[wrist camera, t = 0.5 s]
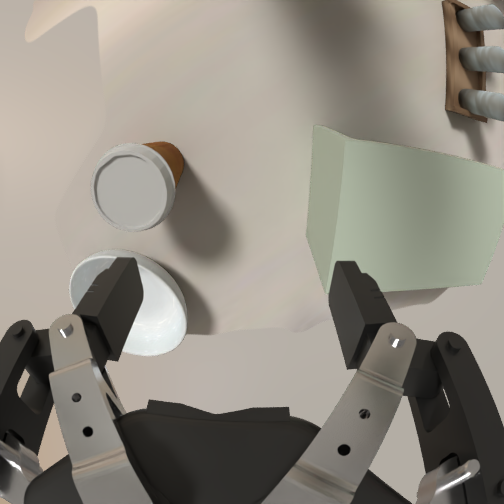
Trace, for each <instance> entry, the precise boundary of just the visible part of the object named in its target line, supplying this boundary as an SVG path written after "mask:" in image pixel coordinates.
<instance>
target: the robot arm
mask: <svg viewBox="0 0 504 504" xmlns="http://www.w3.org/2000/svg"><path fill="white" fill-rule="evenodd" d="M143 297H144V290H143V285H142V281H141V277H140V273H139V269H138V264H137V261H136V259H135V258H134V257H117V258H116V259H115V260H114V262H113V263H112V265H111V266H110V268H109V269H105V270H104V271H102V272H101V273H100V274H99V275H97V277H96V278H95V280H94V281H93V283H92V285H90V287H89V288H88V290H87V292H86V293H85V294H84V296H83V298H82V299H81V301H80V302H79V304H78V305H77V307H76V308H75V310H74V312H73V313H72V314H67V315H64V316H61V317H59V318H58V319H56V320H55V321H54V322H53V323H52V325H51V326H50V329H43V330H35V329H34V327H33V325H32V324H31V322H30V321H28V320H21V321H18V322H16V323H14V324H13V325H12V326H11V327H10V328H9V329H8V330H7V332H6V334H5V335H4V337H3V339H2V340H1V342H0V497H1V498H3V499H5V500H6V501H8V502H10V503H11V504H412V503H411V502H410V501H408V500H407V499H405V498H404V497H403V496H401V495H400V494H399V493H397V492H396V491H395V490H394V489H392V488H391V487H390V486H389V485H387V484H386V483H385V482H384V481H382V480H381V479H380V478H379V477H377V476H376V475H375V474H374V473H372V472H371V471H370V470H369V469H368V468H369V467H370V465H371V463H372V461H373V459H374V457H375V455H376V453H377V452H378V450H379V447H380V445H381V444H382V442H383V439H384V437H385V435H386V433H387V431H388V428H389V427H390V424H391V422H392V419H393V418H394V415H395V413H396V410H397V408H398V406H399V403H400V400H401V398H402V395H403V396H408V400H409V403H410V407H411V411H412V414H413V418H414V422H415V426H416V430H417V434H418V438H419V443H420V447H421V452H422V457H423V461H424V467H425V471H426V475H425V476H424V477H423V478H422V480H421V481H420V484H419V488H418V492H417V498H418V499H417V502H416V504H504V427H503V424H502V421H501V418H500V415H499V413H498V410H497V407H496V405H495V402H494V400H493V398H492V395H491V393H490V390H489V388H488V386H487V384H486V381H485V379H484V377H483V375H482V372H481V370H480V368H479V366H478V364H477V362H476V360H475V358H474V356H473V354H472V352H471V350H470V348H469V346H468V344H467V342H466V341H465V340H464V339H463V338H462V337H461V336H460V335H458V334H456V333H453V332H443V333H441V334H440V335H439V336H438V338H437V340H436V342H433V341H428V340H421V339H416V336H415V334H414V333H413V331H412V330H411V329H409V328H408V327H407V326H405V325H403V324H400V323H397V321H396V319H395V317H394V315H393V313H392V311H391V309H390V307H389V305H388V303H387V301H386V299H385V298H384V295H383V294H382V292H381V291H380V288H379V286H378V284H377V282H376V281H375V280H374V279H373V278H372V277H371V276H370V275H368V274H367V273H361V271H360V269H359V267H358V265H357V263H356V262H355V261H336V263H335V266H334V270H333V275H332V280H331V285H330V290H329V307H330V310H331V314H332V317H333V320H334V323H335V327H336V330H337V334H338V338H339V341H340V345H341V349H342V352H343V356H344V360H345V363H346V367H347V370H348V369H357V372H356V373H355V375H354V377H353V379H352V380H351V382H350V384H349V386H348V387H347V389H346V391H345V392H344V394H343V396H342V397H341V399H340V401H339V402H338V404H337V405H336V407H335V409H334V410H333V412H332V413H331V415H330V416H329V418H328V419H327V421H326V422H325V424H324V425H323V427H322V428H320V427H318V426H317V425H315V424H313V423H311V422H308V421H306V420H304V419H300V418H297V417H292V416H290V413H289V407H273V408H272V407H270V408H249V409H244V410H240V411H234V412H228V413H223V414H212V413H209V412H206V411H202V410H199V409H196V408H193V407H190V406H186V405H184V404H180V403H172V402H163V401H156V400H149V402H148V405H147V409H140V410H135V411H132V412H129V413H126V411H125V409H124V408H123V406H122V404H121V402H120V399H119V397H118V395H117V392H116V390H115V388H114V386H113V383H112V380H111V378H110V375H109V373H108V370H107V368H106V366H105V365H106V362H107V360H112V361H118V360H119V357H120V355H121V352H122V350H123V347H124V345H125V342H126V340H127V337H128V335H129V333H130V330H131V328H132V325H133V323H134V321H135V318H136V316H137V314H138V311H139V309H140V307H141V304H142V302H143ZM24 369H26V370H27V372H28V373H29V374H30V376H29V378H28V381H27V383H26V386H25V388H24V390H23V392H22V395H21V397H20V398H19V396H18V393H17V384H18V382H19V380H20V378H21V376H22V373H23V371H24ZM443 389H444V390H445V393H446V395H447V398H448V401H449V404H450V408H449V405H448V402H447V400H446V397H445V394H444V391H443ZM53 404H55V409H56V413H57V417H58V420H59V424H60V427H61V431H62V434H63V438H64V441H65V444H66V448H67V451H68V453H69V454H68V455H67V456H65V457H64V458H62V459H61V460H60V461H58V462H57V463H55V464H54V465H53V466H51V467H50V468H48V469H47V470H45V471H44V472H43V470H42V468H41V467H40V466H39V460H38V458H37V456H38V452H39V449H40V445H41V441H42V438H43V434H44V431H45V428H46V425H47V422H48V418H49V416H50V413H51V410H52V407H53Z"/></svg>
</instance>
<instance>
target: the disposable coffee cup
mask: <svg viewBox="0 0 504 504" xmlns="http://www.w3.org/2000/svg"><path fill="white" fill-rule="evenodd" d="M183 168H184V161H183V157H182V154H181V153H180V151H179V150H178V149H177V148H176V147H175V146H174V145H172V144H171V143H167V142H154V143H147V144H137V143H125V144H120V145H117V146H115V147H113V148H111V149H110V150H109V151H107V152H106V153H105V154H104V155H103V156H102V157H101V158H100V160H99V161H98V163H97V165H96V167H95V170H94V173H93V176H92V180H91V195H92V200H93V203H94V205H95V208H96V209H97V211H98V213H99V214H100V215H101V217H102V218H103V219H104V220H105V221H106V222H107V223H109V224H110V225H112V226H113V227H115V228H117V229H120V230H123V231H128V232H138V231H142V230H147V229H150V228H153V227H155V226H156V225H158V224H160V223H161V222H162V221H163V220H164V219H165V218H166V217H167V215H168V214H169V212H170V210H171V208H172V206H173V203H174V199H175V189H176V187H177V184H178V182H179V179H180V176H181V174H182V172H183Z"/></svg>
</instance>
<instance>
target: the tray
mask: <svg viewBox="0 0 504 504" xmlns="http://www.w3.org/2000/svg"><path fill="white" fill-rule="evenodd" d="M442 7H443V15H444V25H445V39H446V103H445V110H448V111H452V112H455V113H458V114H461V115H464V116H466V117H469V118H472V119H475V120H478V121H482V122H485V123H487V118H486V117H488V118H492V119H496V120H499V121H504V95H503V94H500V93H494V92H488V91H486V72H497V73H504V50H503V49H502V48H501V47H498V46H489V47H485V44H484V33H483V30H495V29H504V16H503V14H502V13H501V11H500V10H499V9H498V8H497V7H496V6H495V5H493V4H489V5H483V6H478V7H473V8H470V7H468V6H466V5H465V4H463V3H461V2H459V1H457V0H445V1H442ZM484 116H485V117H484Z"/></svg>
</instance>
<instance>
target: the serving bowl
mask: <svg viewBox="0 0 504 504" xmlns="http://www.w3.org/2000/svg"><path fill="white" fill-rule="evenodd" d="M117 257H134V258H135V259H136V261H137V264H138V269H139V273H140V277H141V281H142V285H143V290H144V297H143V302H142V304H141V307H140V309H139V311H138V314H137V316H136V318H135V321H134V323H133V325H132V328H131V330H130V333H129V335H128V337H127V340H126V342H125V345H124V347H123V350H122V351H123V352H126V353H130V354H134V355H140V356H157V355H162V354H165V353H168V352H170V351H172V350H174V349H175V348H176V347H178V345H179V344H180V343H181V342H182V341H183V339H184V337H185V335H186V331H187V321H188V316H187V307H186V303H185V299H184V297H183V294H182V292H181V290H180V288H179V286H178V285H177V283H176V282H175V280H174V279H173V278H172V277H171V276H170V274H169V273H168V272H167V271H166V270H165V269H163V268H162V267H161V266H160V265H159V264H157V263H156V262H154V261H153V260H151V259H149V258H148V257H146V256H143V255H141V254H138V253H136V252H132V251H128V250H121V249H111V250H104V251H101V252H98V253H95V254H93V255H91V256H89V257H88V258H86V259H85V260H83V261H82V262H81V263H80V264H79V265H78V266H77V267H76V268H75V270H74V271H73V273H72V275H71V278H70V284H69V292H70V298H71V302H72V305H73V307H74V310H75V308H76V307H77V305H78V304H79V302H80V301H81V299H82V298H83V296H84V294H85V293H86V292H87V290H88V288H89V287H90V285H92V283H93V281H94V280H95V278H96V277H97V275H99V274H100V273H101V272H102V271H104V270H105V269H109V268H110V266H111V265H112V263H113V262H114V260H115V259H116V258H117Z"/></svg>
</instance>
